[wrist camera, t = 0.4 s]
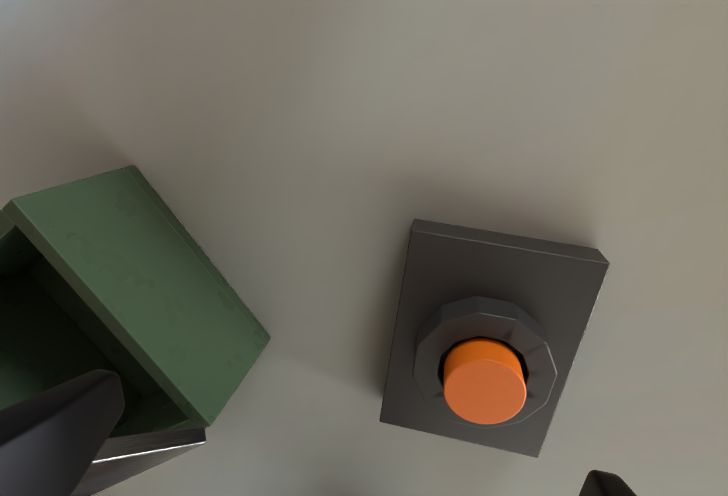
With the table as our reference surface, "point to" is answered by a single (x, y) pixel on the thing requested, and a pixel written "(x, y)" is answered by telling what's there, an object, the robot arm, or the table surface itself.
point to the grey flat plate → (136, 456)
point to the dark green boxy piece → (118, 304)
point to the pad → (488, 325)
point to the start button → (483, 381)
